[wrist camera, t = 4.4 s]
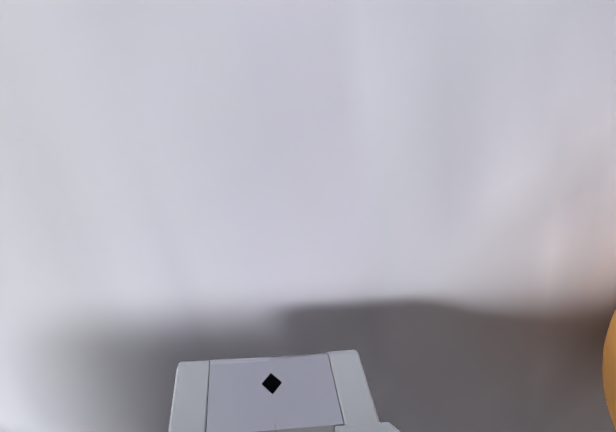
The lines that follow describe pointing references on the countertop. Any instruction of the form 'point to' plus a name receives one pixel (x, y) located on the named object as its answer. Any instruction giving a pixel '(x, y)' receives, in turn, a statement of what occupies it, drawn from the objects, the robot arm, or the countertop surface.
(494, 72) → the countertop surface
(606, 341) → the ball
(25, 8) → the countertop surface
